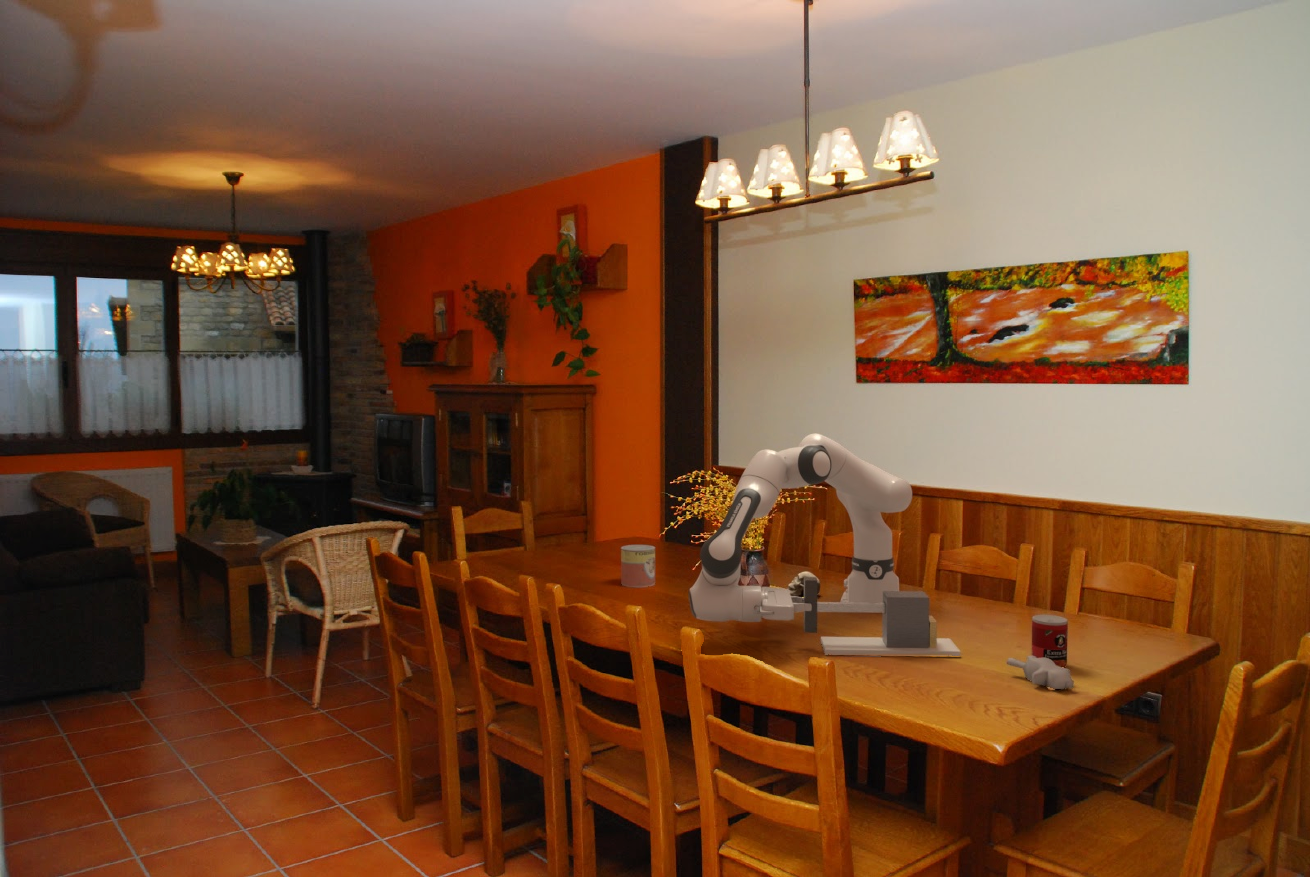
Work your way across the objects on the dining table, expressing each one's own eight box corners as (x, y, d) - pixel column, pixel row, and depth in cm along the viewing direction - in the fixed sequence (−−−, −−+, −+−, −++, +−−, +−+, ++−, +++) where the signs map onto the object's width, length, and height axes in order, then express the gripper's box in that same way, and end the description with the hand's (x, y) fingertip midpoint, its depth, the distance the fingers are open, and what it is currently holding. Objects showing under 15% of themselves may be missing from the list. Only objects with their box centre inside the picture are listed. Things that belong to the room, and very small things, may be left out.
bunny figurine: (1048, 676, 208) (1002, 650, 222) (1046, 699, 209) (1000, 671, 223) (1085, 672, 211) (1037, 646, 225) (1082, 695, 212) (1035, 667, 226)
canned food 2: (1045, 671, 225) (1046, 623, 224) (1023, 661, 232) (1024, 615, 232) (1074, 668, 227) (1075, 621, 226) (1051, 659, 234) (1052, 613, 234)
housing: (882, 646, 247) (882, 590, 246) (923, 646, 246) (923, 591, 245) (886, 653, 240) (887, 597, 239) (928, 654, 239) (929, 597, 238)
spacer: (925, 641, 246) (925, 615, 245) (931, 641, 245) (931, 615, 245) (929, 647, 239) (930, 621, 239) (936, 648, 239) (936, 621, 239)
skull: (780, 596, 299) (782, 567, 305) (784, 613, 306) (786, 585, 313) (820, 597, 296) (822, 568, 302) (823, 614, 304) (824, 585, 310)
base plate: (820, 642, 250) (820, 636, 250) (949, 644, 248) (949, 638, 248) (825, 655, 238) (825, 649, 238) (960, 657, 236) (960, 651, 236)
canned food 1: (643, 588, 316) (643, 551, 316) (614, 585, 322) (614, 548, 322) (661, 582, 326) (661, 546, 325) (633, 579, 332) (632, 543, 331)
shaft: (803, 628, 246) (803, 577, 246) (915, 630, 244) (916, 578, 244) (804, 632, 242) (805, 580, 242) (918, 634, 240) (919, 581, 240)
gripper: (755, 600, 235) (814, 600, 233) (753, 582, 255) (807, 583, 254) (755, 626, 235) (814, 627, 234) (753, 607, 255) (807, 607, 254)
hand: (810, 604), depth 244 cm, fingers closed on shaft, 4 cm apart
